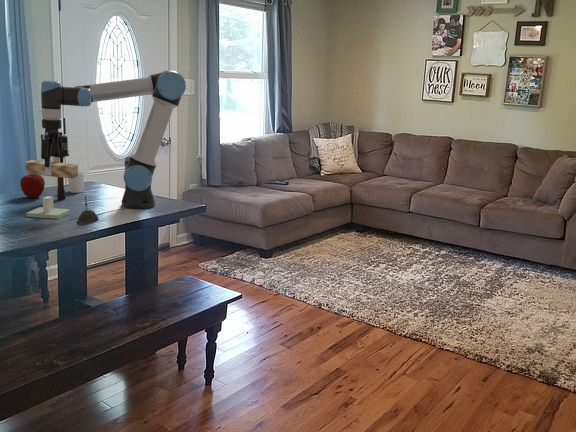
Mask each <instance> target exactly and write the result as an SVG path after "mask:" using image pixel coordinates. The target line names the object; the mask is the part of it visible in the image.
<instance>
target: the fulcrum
mask: <svg viewBox="0 0 576 432" xmlns="http://www.w3.org/2000/svg"><path fill="white" fill-rule="evenodd" d="M70 213H71V209H68V208H58V207H56V208H55V207H54V197H53V196H48V195H47V196H45V197H42V207H37V208H34V209H32V210H30V211H28V212H26V213H25V216H26V217H29V218H40V219H44V218H45V219H57V220H59V219H60V218H63V217H65V216H66V215H68V214H70Z"/></svg>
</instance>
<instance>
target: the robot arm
mask: <svg viewBox="0 0 576 432" xmlns="http://www.w3.org/2000/svg"><path fill="white" fill-rule="evenodd" d="M40 85H41V86H40V87H41V90H40V98H41V99H40V100H41V101H40V102H41V118H42V119H41V128H42V129H44V134H42V133H41V134H40V141H41V142H40V143H41V144H40V146H41V147H40V148H41V150H40V154H41V155H40V158H41V160H43V161H45V175H52V162H57V163H60V157H62V155H63V147H62V136H63V132H62V131H61V132H60V129H62V120H61V119H62V106H73V107H81V108H83V107H90V106H91V105H92V103H96V102H104V101H105V102H106V101H113V100H119V99H126V98H134V97H142V96H150V95H151V98H152V99H153V103H152V106H151V109H150V112H149V115H148V118H147V120H146V123H145V126H144V129H143V131H142V134H141V135H140V136H141V137H140V140H139V143H138V145H137V148H136V150H135V153H133V154H130V156H126V157H125V158H124V173H123V181H124V184H125V185H124V186H125V188H124V193H123V196H122V199H121V206H122V207H123V208H125V209H132V210H133V209H135V210H142V209H143V210H145V209H150V208H153V207H156V200H155V197H154V194H153V191H152V181H153V176H154V173H155V170H156V168H157V163H156V161H155V160H156V157H157V154H158V153H159V152H158V151H159V148H160V146H161V143H162V141H163V137H164V135H165V132H166V129H167V127H168V125H169V122H170V118H171V116H172V113H173V111H174V109H175V108H177V107H179V104H180V102H181V100H182V96H183V95H184V93H185V92H186V88H187V84H186V80H185V78H184V76H183V75H182V74H181V73H180V72H177V70H173V69H170V70H169V69H168V70H164V71H161V72H158V73H153V74H149V75H148V76H147V77H142V78H131V79H125V80H116V81H110V82H103V83H93V84H87V85H86V84H85V85H76V86H73V87H72V86H71V87H70V86H68V87H67V86H62V84H61V81H57V80H56V81H55V80H43V81H42V82H41V84H40ZM52 147H53V152H54V157H52V156H51V151H52ZM51 158H52V159H51Z"/></svg>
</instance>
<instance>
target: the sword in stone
mask: <svg viewBox="0 0 576 432" xmlns="http://www.w3.org/2000/svg"><path fill="white" fill-rule="evenodd" d="M84 200H85V205H84V206H85V208H86V209H84V210H83V211H82V212H81V213H80V214H79V216H78V218H77V224H79V223H81V224H83V225H87V224H88V225H89V224H91V225H92V224H94V222H97V221H99V216H98V215H97V214H96V212H95V211H94V210H91V209H88V202H87V195H85V196H84ZM81 224H80V225H81Z"/></svg>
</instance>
